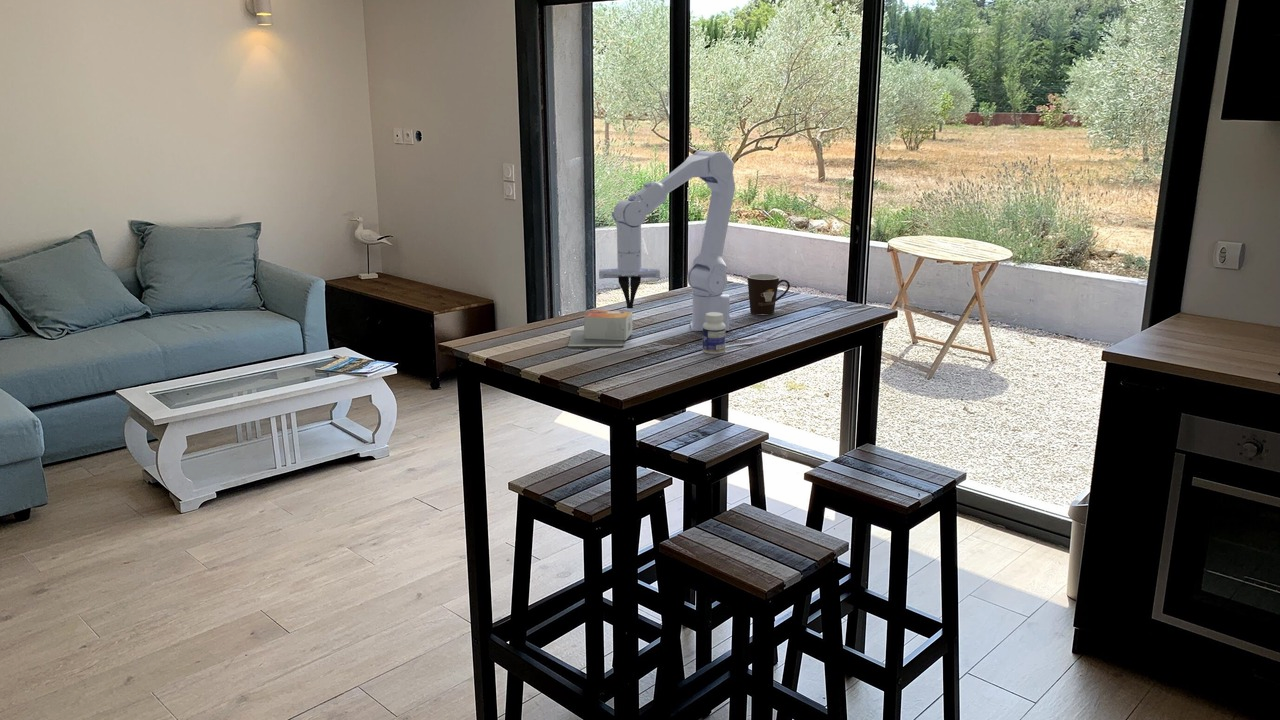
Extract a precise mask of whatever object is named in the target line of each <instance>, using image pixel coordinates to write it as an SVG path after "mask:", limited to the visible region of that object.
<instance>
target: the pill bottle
mask: <svg viewBox="0 0 1280 720" xmlns="http://www.w3.org/2000/svg"><path fill="white" fill-rule="evenodd" d="M706 321H707V322H706V323H704V324H703V331H702V352H704V353H705V354H709V355H717V354H719V355H720V354H723V353H725V351H726V331H725V330H726V326H725V324H724V323H723V322H722V321H723V314H722V313H718V312H710V313H706Z"/></svg>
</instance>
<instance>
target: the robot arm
mask: <svg viewBox="0 0 1280 720" xmlns="http://www.w3.org/2000/svg"><path fill="white" fill-rule="evenodd" d="M734 167H735V162H734V161H733V160H732V158H731V156H730V155H729V154H728V153H726V152H725V151H710V150H709V151H708V150H703V149H700V150H697V151H695V152H693V154H691V155H689V156H687V157H686V159H685V160H684V161H683V162H682V163H681V164H680V165H678V166H677V167H676V168H674V169H673V170H672V171H670V173H668V175H666V176H665V177H664V178H663V179H661V180H660V181H659V182H657V181H651V182H650V181H646V182H645V183H643V187H641V189H640V190H638V191H636V192H635V193H631V194H630V195H628V200H626V199H622V200H620V201H618V202H617V203H616V204H615V206H614V208H613V211H612V212H611V216H612V219H613V221H614V222H615V223H616V244H617V245H616V249H617V251H616V252H617V253H616V256H617V257H616V258H617V259H616V260H617V268H608V269H607V268H605V269H603V268H602V269H599V270H598V279H600V280H601V279H618V284H619V286H620V288H621V291H622V292H623V295H624V299H625V303H626V309H634V301H635V297H636V294H637V291H638V289H639V287H640V284H641V281H642V279H645V278H646V279H647V278H648V279H650V278H651V279H652V278H653V279H660V278H661V270H660V268H644V267H643V268H642V225H643V224H644V222H645V221H646V218H647V216H648V215H649V214H651V213H652V212H653V211H654V210H656V209H658V207H660V206H661V205H662V204H664V203H665V202H666V201H667V198H668V195H669V193H671V192H672V191H674V190H675V189H677V188H679V187H680V186H682V185H683V184H685V183H686V182H688V181H690V180H691V179H693V178H699V179H700V180H702V181H704V183H705V184H706V185H707V187H708V188H709V189H710V191H711V195H710V199H709V204H708V205H709V206H708V211H707V216H706V221H705V226H704V232H703V238H702V241H701V242H702V243H701V249H700V253H699V254H698V255H697V256H696V257H695V258H694V259H693V262H692V266H691V268H690V269H689V271H688V273H687V279H686V280H687V283H688V285H689V287H690V288H691V292H692V318H691V319H692V320H691V322H689V326H690V330H691V332H692V331H693V332H703V324H704V323H706V322H707V321H706V313H710V312H718V313H722V314H723V321H722V322H723V323H724V324H725V326H726V330H725V332H727V331H730V321H731V317H730V308H731V307H730V294H729V293H723V292H724V291H725V290H726V288H727V284H728V277H727V269H728V267H727V264H726V262H725V261H724V259H723V252H724V248H725V243H726V237H727V234H728V227H729V222H730V221H729V220H730V216H731V211H732V206H733V201H734V195H735V191H736V184H735V178H734Z"/></svg>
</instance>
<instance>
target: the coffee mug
mask: <svg viewBox="0 0 1280 720" xmlns="http://www.w3.org/2000/svg"><path fill="white" fill-rule="evenodd" d="M746 279H747V289H748V300H749V311H750V312H751V313H754V314H772V313H774V314H775V309H776V302H778V301H779V300H780V299H781V298H783V297H784V296H785V295H786V294H787V293H788V292H789V290H790V287H791V286H790V282H789V280H786V279H780V276H779V275H776V274H770V273H752V274H748V275H747V276H746ZM783 282H785V284H786V285H787V287H786V289H785V291H784V292H782V294H780V295H779V296H778V297H777V295H778V288H779V285H780V284H781V283H783ZM751 313H750V314H751ZM754 314H753V315H754ZM772 315H773V314H772Z"/></svg>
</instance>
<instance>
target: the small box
mask: <svg viewBox="0 0 1280 720" xmlns="http://www.w3.org/2000/svg"><path fill="white" fill-rule="evenodd" d="M583 325H584V326H583V330H584V338H585V339H601V340H624V341H627V340H628V338H629V337H630V336H631V335H632V333H633V312H632V311H619V310H598V309H597V310H596V309H595V310H593V309H592V310H590V311H589V312H588V313H587V314H586V315H584V316H583Z"/></svg>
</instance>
